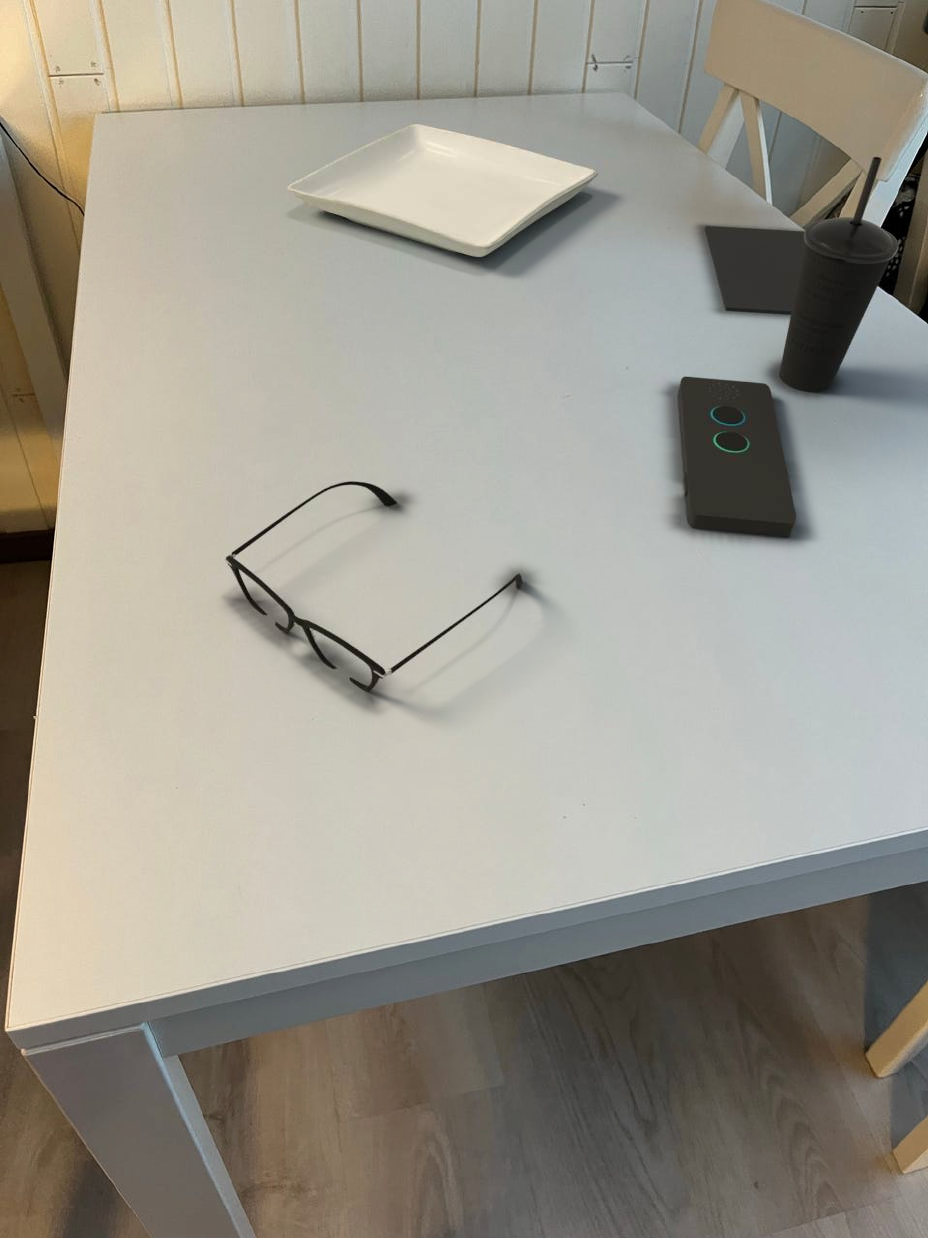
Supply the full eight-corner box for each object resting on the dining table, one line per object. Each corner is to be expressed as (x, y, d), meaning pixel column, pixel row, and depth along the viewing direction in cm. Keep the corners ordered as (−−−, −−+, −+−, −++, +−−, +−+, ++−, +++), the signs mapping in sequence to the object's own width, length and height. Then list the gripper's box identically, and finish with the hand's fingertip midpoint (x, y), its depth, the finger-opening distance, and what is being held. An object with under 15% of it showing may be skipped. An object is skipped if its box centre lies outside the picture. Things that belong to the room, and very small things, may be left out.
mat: (842, 319, 98) (843, 314, 98) (725, 312, 99) (726, 307, 98) (806, 236, 112) (808, 231, 112) (704, 230, 113) (705, 225, 112)
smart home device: (771, 381, 86) (800, 522, 72) (766, 398, 87) (794, 540, 73) (678, 373, 86) (689, 512, 73) (675, 390, 88) (685, 529, 74)
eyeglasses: (219, 594, 67) (210, 551, 64) (379, 493, 76) (378, 452, 73) (385, 720, 60) (383, 678, 57) (542, 593, 68) (547, 551, 65)
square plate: (485, 280, 102) (487, 244, 99) (285, 217, 111) (281, 183, 109) (597, 197, 118) (601, 164, 116) (414, 148, 128) (414, 117, 125)
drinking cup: (786, 406, 86) (858, 179, 72) (749, 363, 92) (810, 143, 77) (862, 398, 88) (947, 173, 74) (821, 355, 93) (894, 138, 79)
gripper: (1179, -332, 47) (1023, 55, 60) (1053, -335, 59) (945, -13, 72) (1026, -340, 48) (902, 48, 60) (932, -341, 60) (845, -19, 72)
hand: (926, 14), depth 66 cm, fingers open, 9 cm apart
